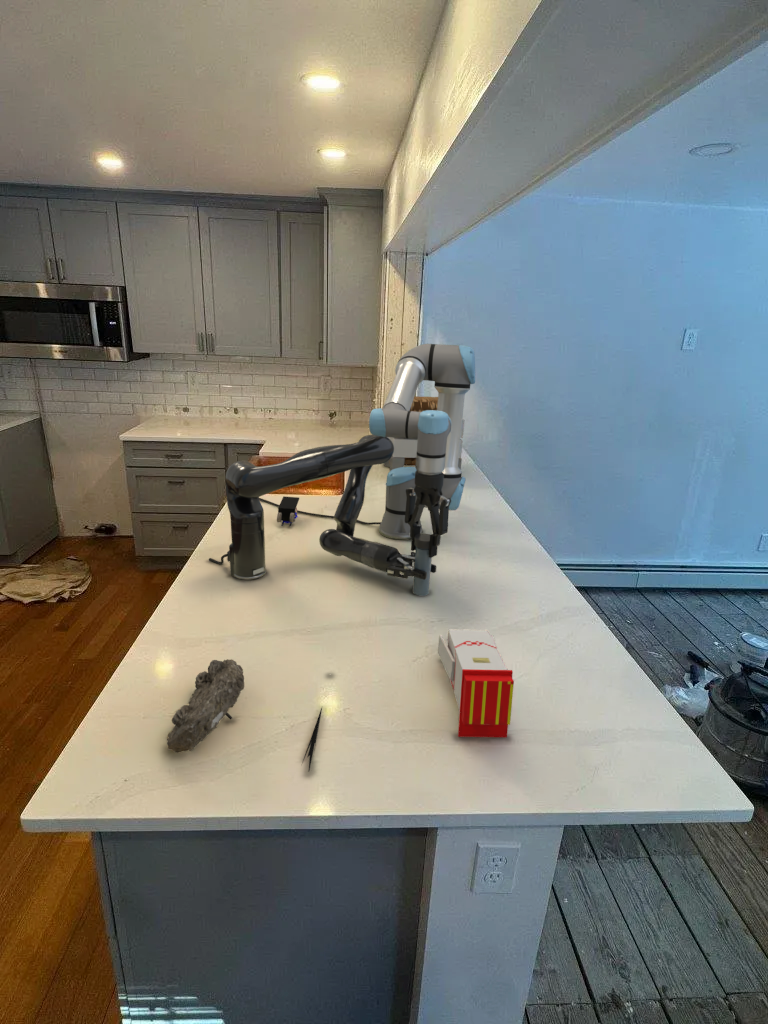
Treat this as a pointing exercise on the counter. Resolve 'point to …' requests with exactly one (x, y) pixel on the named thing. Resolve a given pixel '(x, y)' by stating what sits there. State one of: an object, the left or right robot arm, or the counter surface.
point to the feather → (313, 740)
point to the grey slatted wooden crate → (408, 447)
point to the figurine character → (287, 510)
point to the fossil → (206, 705)
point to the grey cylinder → (423, 564)
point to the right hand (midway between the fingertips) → (423, 552)
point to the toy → (478, 682)
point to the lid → (422, 541)
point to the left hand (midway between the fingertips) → (430, 572)
